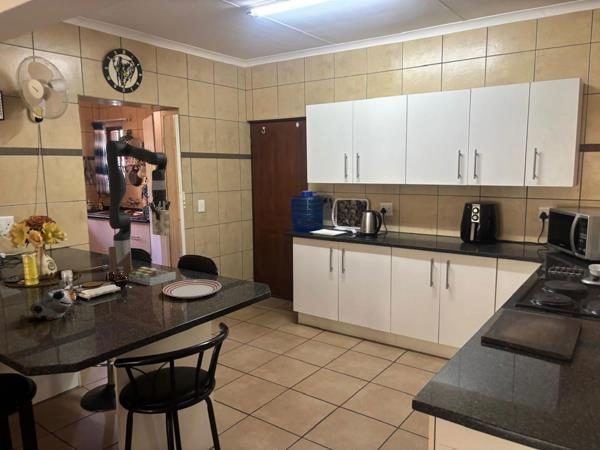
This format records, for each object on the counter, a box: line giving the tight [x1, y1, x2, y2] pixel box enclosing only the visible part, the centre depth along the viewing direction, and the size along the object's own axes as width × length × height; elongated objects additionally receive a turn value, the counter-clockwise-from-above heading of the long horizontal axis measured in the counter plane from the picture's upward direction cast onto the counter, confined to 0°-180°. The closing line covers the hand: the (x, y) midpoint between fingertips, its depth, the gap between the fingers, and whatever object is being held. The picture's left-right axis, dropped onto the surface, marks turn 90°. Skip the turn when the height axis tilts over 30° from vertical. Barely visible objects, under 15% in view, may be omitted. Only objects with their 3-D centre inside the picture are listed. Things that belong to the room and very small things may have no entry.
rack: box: [128, 267, 177, 286], centre depth 238 cm, size 18×16×4 cm
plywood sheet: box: [150, 209, 171, 237], centre depth 247 cm, size 12×2×14 cm, turn 55°
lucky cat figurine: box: [28, 288, 77, 321], centre depth 181 cm, size 15×12×14 cm
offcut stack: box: [135, 266, 160, 279], centre depth 235 cm, size 14×7×6 cm, turn 55°
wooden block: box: [108, 246, 132, 280], centre depth 239 cm, size 4×11×18 cm, turn 123°
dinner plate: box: [162, 279, 222, 300], centre depth 213 cm, size 28×27×3 cm
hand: (160, 219), depth 247 cm, fingers closed on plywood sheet, 2 cm apart
